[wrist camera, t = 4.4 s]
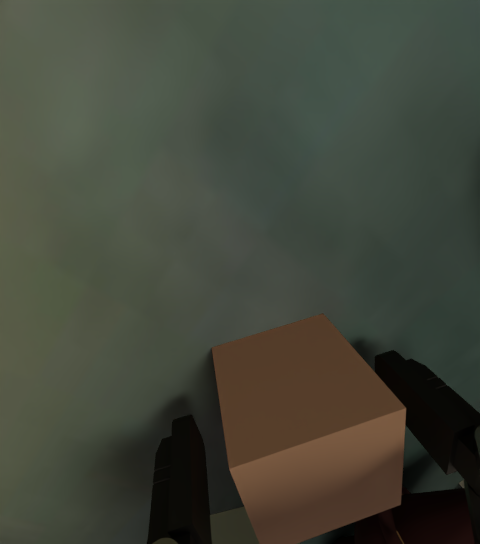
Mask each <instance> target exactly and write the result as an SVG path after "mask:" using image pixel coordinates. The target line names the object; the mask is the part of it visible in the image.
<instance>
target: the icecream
mask: <svg viewBox="0 0 480 544" xmlns="http://www.w3.org/2000/svg"><path fill="white" fill-rule="evenodd" d="M333 544H475V543H474V537H473V532H472V526H471V520H470V515H469V509H468V504H467V498H466V493H465V488H460V489H451V490H442V491H433V492H423V493H414V494H411V493H410V492H409V491H408V490H407V488H405V487H403V486H402V494H401V505H399V506H396V507H393V508H391V509H388V510H385V511H383V512H380V513H377V514H375V515H372V516H369V517H366V518H364V519H361V520H358V521H356V524H355V527H354V536H347V537H340V538H339V539H338V540H337V541H336V542H335V543H333Z"/></svg>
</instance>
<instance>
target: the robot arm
mask: <svg viewBox="0 0 480 544" xmlns="http://www.w3.org/2000/svg"><path fill="white" fill-rule="evenodd" d="M375 373H376V374H377V375H378V377H379V378H380V379H381V380H382V381H383V382H384V383H385V384H386V386H387V387H388V388H389V389H390V390H391V391H392V392H393V394H394V395H395V396H396V397H397V398H398V399H399V400H400V402H401V403H402V404H403V405H404V406H405V407H406V420H405V425H406V426H407V427H408V428H409V430H410V431H411V432H412V433H413V435H414V436H415V437H416V438H417V439H418V441H419V442H420V443H421V444H422V446H423V447H424V448H425V449H426V450H427V452H428V453H429V454H430V455H431V457H432V458H433V459H434V460H435V461H436V463H437V464H438V465H439V466H440V467H441V469H442V470H443V471H444V472H445V474H446V475H448V474H451V473H453V472H456V471H458V472H459V474H460V475H461V476H462V477H463V478H464V487H465V493H466V498H467V504H468V509H469V515H470V520H471V526H472V532H473V537H474V543H475V544H480V413H479V412H478V411H476V410H475V409H474V408H473V407H472V406H471V405H470V404H468V403H467V402H466V401H465V400H464V399H463V398H462V397H460V396H459V395H458V394H457V393H456V392H455V391H454V390H452V389H451V388H450V387H449V386H447V385H446V383H444V382H443V381H442V380H441V379H440V378H438V377H437V376H436V375H435V374H434V373H433V372H432V371H431V370H430V369H428V368H427V367H426V366H425V365H423V364H421V363H419V362H417V361H415V360H413V359H409V360H405V359H404V358H403V357H402V356H401V355H400V354H399V353H397V352H396V351H394V350H392V351H388V352H385V353H382V354H379V355H376V356H375ZM154 470H155V472H154V479H153V483H154V485H153V490H152V500H151V511H150V522H149V533H148V541H147V544H212V537H211V524H210V510H209V496H208V483H207V469H206V455H205V448H204V443H203V439H202V436H201V434H200V432H199V429H198V427H197V425H196V422H195V420H194V418H193V416H192V414H190V415H187V416H184V417H181V418H178V419H175V420H173V422H172V436H170V437H167V438H164V439H162V441H161V443H160V445H159V448H158V450H157V452H156V457H155V468H154Z"/></svg>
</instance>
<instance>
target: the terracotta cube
mask: <svg viewBox="0 0 480 544" xmlns="http://www.w3.org/2000/svg"><path fill="white" fill-rule="evenodd" d="M212 354H213V361H214V368H215V375H216V381H217V388H218V395H219V402H220V409H221V416H222V423H223V430H224V437H225V443H226V450H227V457H228V464H229V470H230V472H231V475H232V477H233V480H234V482H235V485H236V487H237V490H238V492H239V494H240V497H241V499H242V502H243V504H244V507H245V509H246V512H247V514H248V517H249V519H250V522H251V524H252V527H253V529H254V532H255V534H256V537H257V539H258V541H259V544H297V543H300V542H302V541H305V540H308V539H310V538H313V537H316V536H318V535H321V534H324V533H326V532H329V531H332V530H334V529H337V528H340V527H342V526H345V525H348V524H350V523H353V522H356V521H358V520H361V519H364V518H366V517H369V516H372V515H375V514H377V513H380V512H383V511H385V510H388V509H391V508H393V507H396V506H399V505H401V494H402V476H403V457H404V439H405V420H406V407H405V406H404V405H403V404H402V403H401V402H400V400H399V399H398V398H397V397H396V396H395V395H394V394H393V392H392V391H391V390H390V389H389V388H388V387H387V386H386V384H385V383H384V382H383V381H382V380H381V379H380V378H379V377H378V375H377V374H376V373H375V372H374V371H373V370H372V369H371V367H370V366H369V365H368V364H367V363H366V362H365V361H364V359H363V358H362V357H361V356H360V355H359V354H358V353H357V351H356V350H355V349H354V348H353V347H352V346H351V345H350V343H349V342H348V341H347V340H346V339H345V338H344V337H343V335H342V334H341V333H340V332H339V331H338V330H337V329H336V327H335V326H334V325H333V324H332V323H331V322H330V321H329V320H328V318H327V317H326V316H325V315H324V314H320V315H317V316H313V317H310V318H307V319H304V320H300V321H297V322H294V323H291V324H287V325H284V326H281V327H277V328H274V329H271V330H268V331H264V332H261V333H258V334H255V335H251V336H248V337H245V338H242V339H238V340H235V341H232V342H228V343H225V344H222V345H219V346H215V347H212Z"/></svg>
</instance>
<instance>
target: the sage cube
mask: <svg viewBox="0 0 480 544" xmlns="http://www.w3.org/2000/svg"><path fill="white" fill-rule="evenodd" d="M210 524H211V537H212V544H259V541H258V539H257V537H256V534H255V532H254V529H253V527H252V524H251V522H250V519H249V517H248V514H247V512H246V509H245V507H240V508H236V509H232V510H228V511H224V512H220V513H216V514H212V515H210ZM297 544H300V543H297Z"/></svg>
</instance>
